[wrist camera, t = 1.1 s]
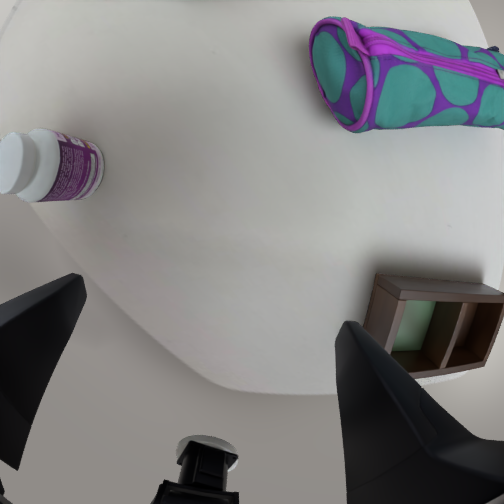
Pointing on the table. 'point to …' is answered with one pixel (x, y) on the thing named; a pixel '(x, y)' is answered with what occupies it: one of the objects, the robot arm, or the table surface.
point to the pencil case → (404, 78)
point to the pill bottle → (49, 166)
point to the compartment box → (434, 323)
